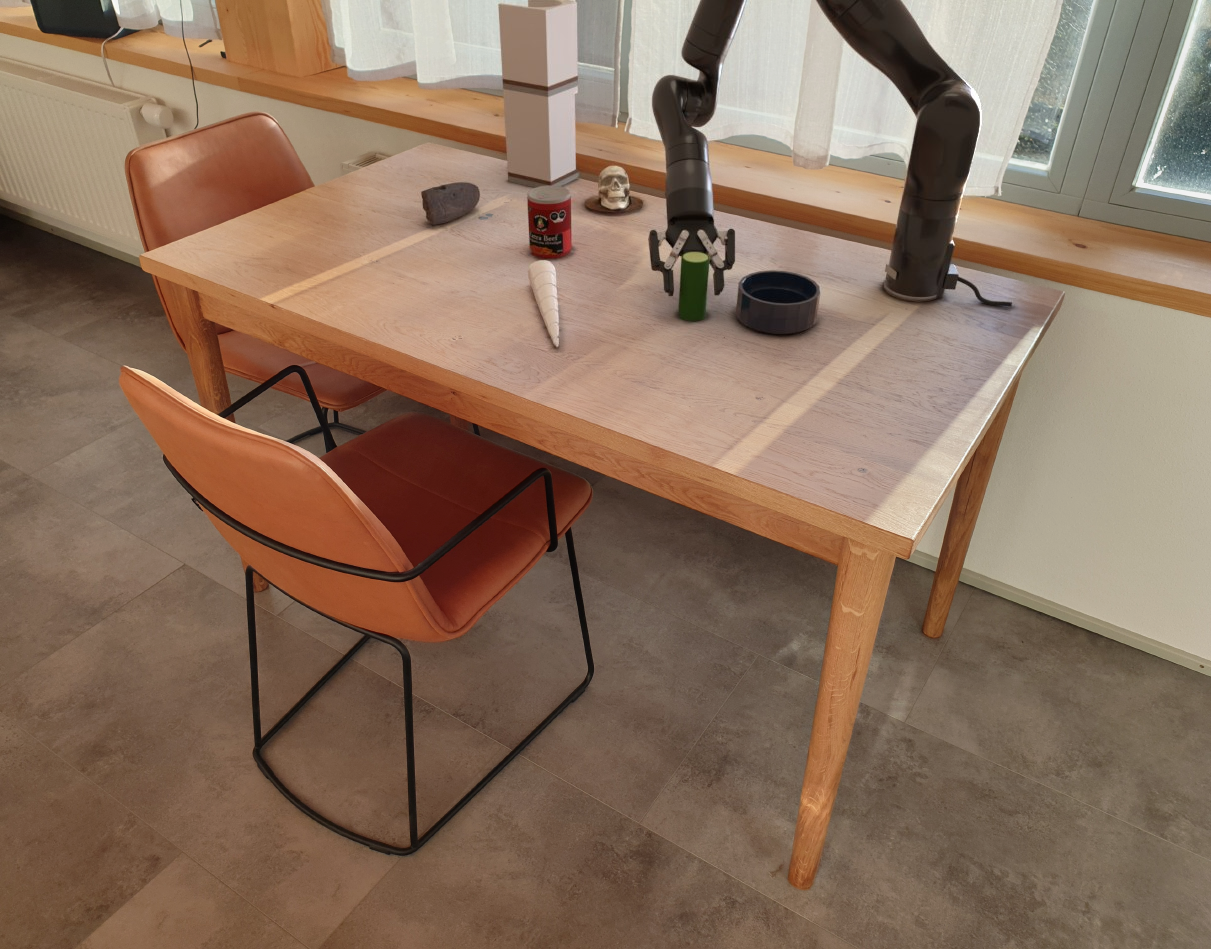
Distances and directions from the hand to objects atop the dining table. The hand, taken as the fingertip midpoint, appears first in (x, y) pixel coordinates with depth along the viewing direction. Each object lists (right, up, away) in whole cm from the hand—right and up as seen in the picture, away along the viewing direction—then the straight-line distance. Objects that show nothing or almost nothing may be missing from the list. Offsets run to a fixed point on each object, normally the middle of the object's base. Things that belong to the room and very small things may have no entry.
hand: (694, 294), depth 148 cm
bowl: (+13, -3, +3) cm, 14 cm away
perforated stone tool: (-44, +22, +38) cm, 63 cm away
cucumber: (0, -3, +4) cm, 5 cm away
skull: (-12, +27, +44) cm, 53 cm away
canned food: (-24, +13, +25) cm, 37 cm away
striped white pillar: (-28, +36, +57) cm, 73 cm away
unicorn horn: (-23, -2, +4) cm, 24 cm away
